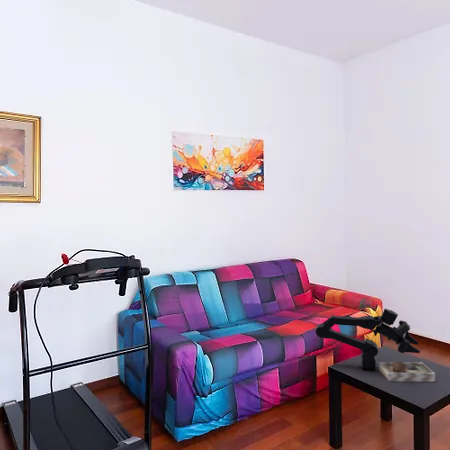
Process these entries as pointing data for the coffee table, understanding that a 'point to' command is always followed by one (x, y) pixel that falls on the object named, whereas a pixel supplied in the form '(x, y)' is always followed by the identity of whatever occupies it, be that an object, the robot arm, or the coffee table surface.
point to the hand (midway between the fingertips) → (419, 347)
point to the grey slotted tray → (408, 372)
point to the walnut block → (399, 367)
